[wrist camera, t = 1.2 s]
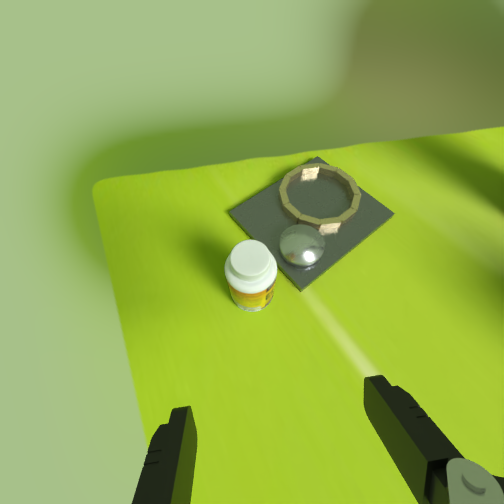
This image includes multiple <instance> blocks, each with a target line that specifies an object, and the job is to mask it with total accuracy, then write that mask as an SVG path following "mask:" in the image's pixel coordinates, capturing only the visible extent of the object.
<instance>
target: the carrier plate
mask: <svg viewBox="0 0 504 504" xmlns="http://www.w3.org/2000/svg"><path fill="white" fill-rule="evenodd" d="M229 213H230V216H231V217H232V218H233V219H234V220H235V222H236V223H237V224H238V225H239V226H240V227H241V228H242V229H243V230H244V231H245V232H246V233H247V234H248V236H249V237H250V238H251V239H252V240H257V241H259V242H261V243H263V244H264V245H265V246H266V247H267V248H268V250H269V251H270V252H271V253H272V255H273V256H274V258H275V260H276V263H277V267H278V268H279V269H280V270H281V271H282V272H283V273H284V274H285V275H286V276H287V277H288V279H289V280H290V281H291V282H292V283H293V284H294V285H295V286H296V287H297V288H298V289H299V290H300V291H303V290H304V289H305V288H306V287H308V286H309V285H310V284H311V283H312V282H314V281H315V280H316V279H317V278H319V277H320V276H321V275H322V274H323V273H325V272H326V271H327V270H328V269H329V268H331V267H332V266H333V265H334V264H336V263H337V262H338V261H339V260H340V259H342V258H343V257H344V256H345V255H347V254H348V253H349V252H350V251H351V250H353V249H354V248H355V247H356V246H358V245H359V244H360V243H361V242H362V241H364V240H365V239H366V238H367V237H368V236H370V235H371V234H372V233H373V232H375V231H376V230H377V229H378V228H379V227H381V226H382V225H383V224H384V223H386V222H387V221H388V220H389V219H390V218H392V216H393V215H394V214H395V213H393V212H392V211H391V210H389V209H388V208H387V207H385V206H384V205H383V204H381V203H380V202H379V201H377V200H376V199H375V198H373V197H372V196H370V195H369V194H368V193H366V192H365V191H364V190H362V189H361V188H360V187H358V186H357V184H356V182H355V180H353V178H352V177H351V176H349V175H348V174H347V173H345V172H344V171H342V170H341V169H340V168H339V169H338V167H334V166H330V165H329V164H327V163H326V162H325V161H323V160H322V159H321V158H319V157H318V156H317V157H316V158H314V159H312V160H311V161H309V162H308V163H306V164H304V165H301V166H298V167H296V168H295V169H293V170H292V171H290V172H288V173H287V174H286V175H285V176H284V178H282V179H281V180H279V181H277V182H276V183H274V184H273V185H271V186H269V187H268V188H266V189H265V190H263V191H261V192H260V193H258V194H257V195H255V196H253V197H252V198H250V199H249V200H247V201H245V202H244V203H242V204H241V205H239V206H238V207H236V208H234V209H233V210H231V211H230V212H229Z"/></svg>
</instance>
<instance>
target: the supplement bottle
mask: <svg viewBox="0 0 504 504" xmlns="http://www.w3.org/2000/svg"><path fill="white" fill-rule="evenodd" d="M276 275H277V263H276V260H275V258H274V256H273V255H272V253H271V252H270V251H269V250H268V248H267V247H266V246H265V245H264V244H263V243H261V242H259V241H257V240H245V241H242V242H240V243H238V244H237V245H236V246H235V247H234V248H233V249H232V251H231V253H230V255H229V256H228V258H227V260H226V262H225V276H226V279H227V282H228V286H229V289H230V293H231V296H232V299H233V301H234V303H235V304H236V305H237V306H238V307H239V308H241V309H242V310H245V311H249V312H255V311H259V310H262V309H263V308H265V307H266V306H267V305H268V304H269V303H270V301H271V299H272V297H273V292H274V287H275V281H276Z"/></svg>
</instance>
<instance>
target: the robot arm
mask: <svg viewBox="0 0 504 504" xmlns="http://www.w3.org/2000/svg"><path fill="white" fill-rule="evenodd" d="M364 408H365V411H366V414H367V416H368V418H369V420H370V422H371V423H372V425H373V427H374V429H375V430H376V432H377V434H378V435H379V437H380V439H381V440H382V442H383V444H384V446H385V447H386V449H387V451H388V452H389V454H390V456H391V457H392V459H393V461H394V463H395V464H396V466H397V468H398V469H399V471H400V473H401V474H402V476H403V478H404V480H405V481H406V483H407V485H408V486H409V488H410V490H411V491H412V493H413V495H414V497H415V498H416V500H417V502H418V503H419V504H504V478H503V477H498V476H494V475H491V474H490V473H489V472H488V471H487V470H485V469H484V468H483V467H481V466H480V465H478V464H476V463H475V462H472V461H470V460H467V459H465V458H464V457H463V456H462V455H461V454H460V452H459V451H458V450H457V449H456V448H455V447H454V445H453V444H452V443H451V442H450V441H449V440H448V438H447V437H446V436H445V435H444V434H443V432H442V431H441V430H440V429H439V428H438V427H437V425H436V424H435V423H434V422H433V421H432V420H431V418H430V417H428V415H427V414H426V412H425V411H424V410H423V409H422V408H420V405H419V404H418V403H417V402H416V401H415V400H414V398H413V397H412V396H411V395H410V394H409V393H407V392H406V391H405V390H403V389H402V388H400V387H399V386H391V384H390V383H389V382H388V381H387V379H386V378H385V377H384V376H383V375H377V376H370V377H365V379H364ZM196 452H197V431H196V426H195V422H194V418H193V413H192V409H191V406H185V407H179V408H173V409H172V412H171V415H170V419H169V423H168V424H162V425H160V426H159V428H158V429H157V431H156V432H155V434H154V435H153V437H152V439H151V442H150V445H149V448H148V454H147V455H146V459H145V462H144V467H143V468H142V472H141V475H140V478H139V482H138V485H137V488H136V492H135V495H134V498H133V501H132V504H190V502H191V493H192V485H193V477H194V468H195V460H196Z"/></svg>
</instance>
